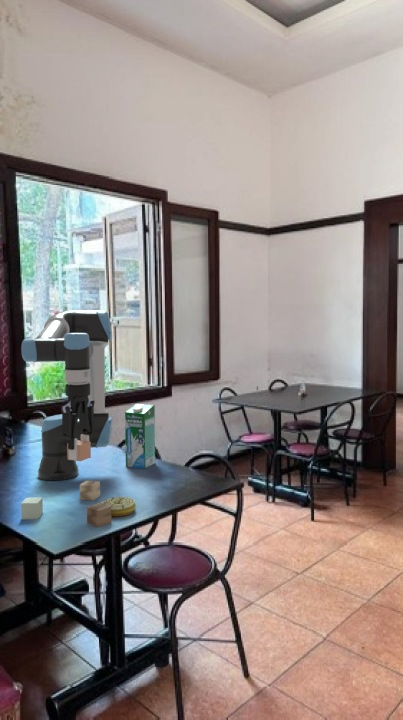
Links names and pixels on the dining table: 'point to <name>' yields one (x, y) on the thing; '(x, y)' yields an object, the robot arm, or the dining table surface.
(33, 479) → the dining table surface
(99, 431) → the robot arm
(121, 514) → the decorated donut
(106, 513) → the walnut cube
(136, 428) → the milk carton
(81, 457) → the terracotta cube
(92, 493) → the beech cube
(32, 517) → the sage cube
